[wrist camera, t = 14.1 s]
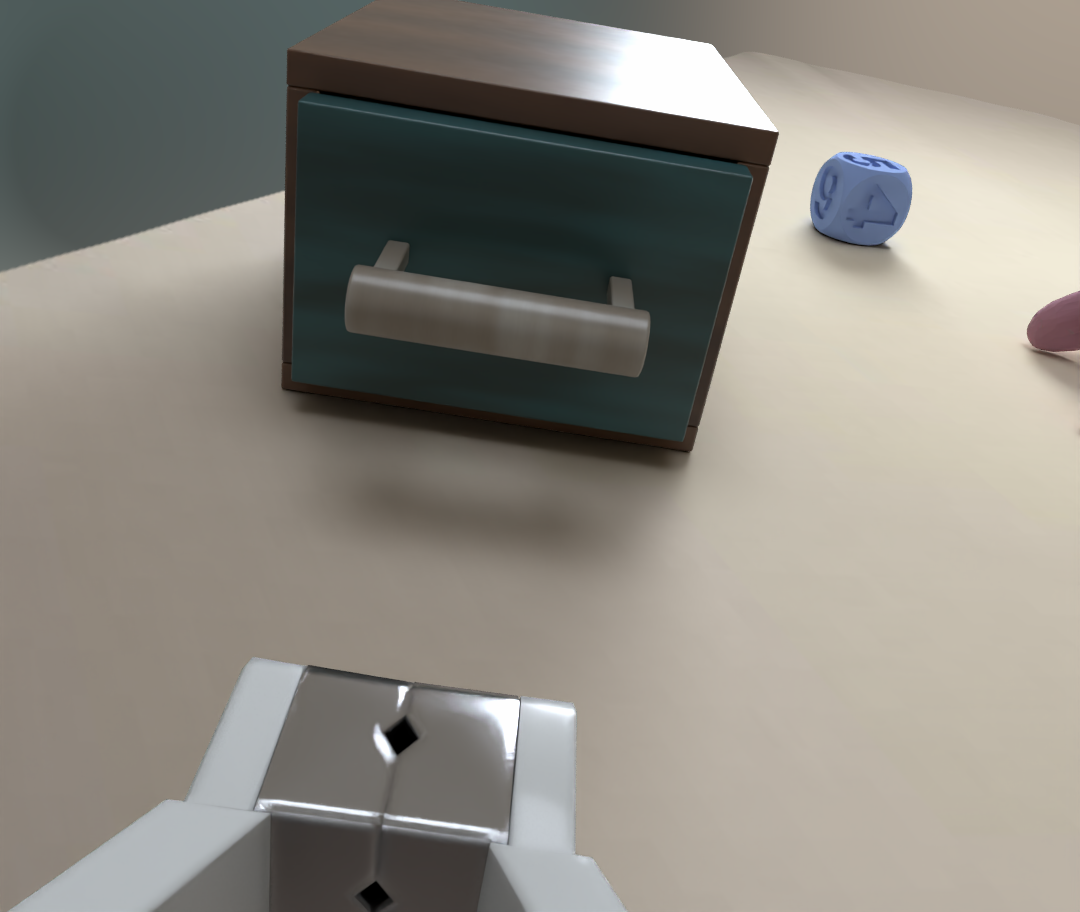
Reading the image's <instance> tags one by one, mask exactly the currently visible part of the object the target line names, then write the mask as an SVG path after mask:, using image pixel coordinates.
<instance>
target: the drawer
mask: <svg viewBox="0 0 1080 912" xmlns="http://www.w3.org/2000/svg"><path fill="white" fill-rule="evenodd" d="M752 181H753V176H752V175H751V173H750V171H749V169H748V167H747V166H745V165H741V164H735V163H729V162H723V161H717V160H711V159H709V156H706V155H700V154H694V153H688V152H682V151H676V150H670V149H664V148H659V147H653V146H647V145H641V144H635V143H629V142H623V141H617V140H611V139H605V138H599V137H593V136H587V135H581V134H575V133H569V132H563V131H558V130H552V129H546V128H540V127H534V126H528V125H522V124H516V123H510V122H504V121H498V120H492V119H486V118H480V117H474V116H468V115H463V114H457V113H451V112H445V111H439V110H433V109H427V108H421V107H415V106H409V105H403V104H397V103H391V102H385V101H379V100H373V99H368V98H362V97H356V96H352V97H351V99H348V98H342V97H336V96H331V95H325V94H319V93H313V92H311V93H308V94H307V95H306V96H304V97H303V98H302V99H300V100H299V101H298V116H297V159H296V201H295V244H294V286H293V329H292V372H291V379H292V381H294V382H300V383H306V384H313V385H319V386H326V387H332V388H339V389H345V390H351V391H358V392H364V393H371V394H377V395H383V396H390V397H396V398H403V399H409V400H416V401H422V402H428V403H435V404H441V405H448V406H454V407H460V408H467V409H473V410H480V411H486V412H493V413H499V414H505V415H512V416H518V417H525V418H531V419H537V420H544V421H550V422H557V423H563V424H570V425H576V426H582V427H589V428H595V429H602V430H608V431H614V432H621V433H627V434H634V435H640V436H647V437H653V438H659V439H666V440H672V441H679V442H683V440H684V437H685V433H686V429H687V426H688V422H689V418H690V414H691V411H692V407H693V403H694V399H695V396H696V392H697V388H698V384H699V381H700V377H701V373H702V369H703V366H704V362H705V358H706V354H707V351H708V347H709V343H710V339H711V335H712V332H713V328H714V324H715V320H716V317H717V313H718V309H719V305H720V302H721V298H722V294H723V290H724V287H725V283H726V279H727V275H728V272H729V268H730V264H731V260H732V257H733V253H734V249H735V245H736V241H737V238H738V234H739V230H740V226H741V223H742V219H743V215H744V211H745V208H746V204H747V200H748V196H749V193H750V189H751V185H752Z"/></svg>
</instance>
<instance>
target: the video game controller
mask: <svg viewBox="0 0 1080 912" xmlns="http://www.w3.org/2000/svg"><path fill="white" fill-rule="evenodd" d="M1027 336H1028V339H1029V341H1030V343H1031V344H1032V346H1034V347H1036V348H1038V349H1041V350H1046V351H1052V352H1059V351H1075V350H1080V291H1078V292H1075V293H1072V294H1069V295H1067V296H1065V297H1062V298H1060V299H1057V300H1055V301H1052V302H1051V303H1049V304H1048V305H1046V306H1045V307H1044V308H1042V309H1041V310H1039V311H1038V312H1037V313H1036V314H1035V315H1034V317H1033V318H1032V320H1031V322H1030V323H1029V325H1028V328H1027Z"/></svg>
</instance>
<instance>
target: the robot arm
mask: <svg viewBox="0 0 1080 912" xmlns="http://www.w3.org/2000/svg"><path fill="white" fill-rule="evenodd" d="M576 728H577V711H576V709H575V707H574V704H573V703H570V702H563V701H555V700H548V699H540V698H532V697H525V696H521V697H520V699H519V697H518V696H516V695H508V694H501V693H493V692H486V691H478V690H471V689H463V688H456V687H448V686H441V685H433V684H426V683H418V682H414V683H412V682H406V681H400V680H394V679H389V678H383V677H377V676H371V675H365V674H359V673H353V672H347V671H341V670H335V669H329V668H323V667H317V666H311V665H308V666H303V665H298V664H292V663H286V662H280V661H274V660H269V659H263V658H257V657H252V658H251V660H250V661H249V662H248V663H247V664H246V665H245V666H244V668H243V669H242V671H241V673H240V675H239V678H238V680H237V682H236V684H235V687H234V689H233V691H232V693H231V696H230V698H229V700H228V702H227V705H226V707H225V709H224V711H223V714H222V716H221V718H220V721H219V723H218V725H217V727H216V730H215V732H214V734H213V736H212V739H211V741H210V743H209V745H208V748H207V750H206V752H205V755H204V757H203V759H202V761H201V764H200V766H199V768H198V770H197V773H196V775H195V777H194V779H193V782H192V784H191V786H190V789H189V791H188V793H187V795H186V798H185V800H184V801H179V800H169V799H166V800H164V801H163V802H162V803H160V804H159V805H157V806H156V807H155V808H153V809H152V810H150V811H149V812H148V813H146V814H145V815H143V816H142V817H140V818H139V819H138V820H136V821H135V822H133V823H132V824H131V825H129V826H128V827H126V828H125V829H123V830H122V831H121V832H119V833H118V834H116V835H115V836H114V837H112V838H111V839H109V840H108V841H107V842H105V843H104V844H102V845H101V846H99V847H98V848H97V849H95V850H94V851H92V852H91V853H90V854H88V855H87V856H85V857H84V858H82V859H81V860H80V861H78V862H77V863H75V864H74V865H73V866H71V867H70V868H68V869H67V870H66V871H64V872H63V873H61V874H60V875H58V876H57V877H56V878H54V879H53V880H51V881H50V882H49V883H47V884H46V885H44V886H43V887H41V888H40V889H39V890H37V891H36V892H34V893H33V894H32V895H30V896H29V897H27V898H26V899H25V900H23V901H22V902H20V903H19V904H17V905H16V906H15V907H13V908H12V909H10V910H9V911H8V912H628V911H627V909H626V908H625V906H624V905H623V903H622V902H621V900H620V899H619V897H618V896H617V894H616V893H615V891H614V890H613V888H612V887H611V885H610V884H609V882H608V881H607V879H606V878H605V876H604V875H603V873H602V872H601V870H600V868H599V867H598V865H597V864H596V862H595V861H594V859H593V858H592V857H587V856H581V855H576V854H575V830H576Z"/></svg>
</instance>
